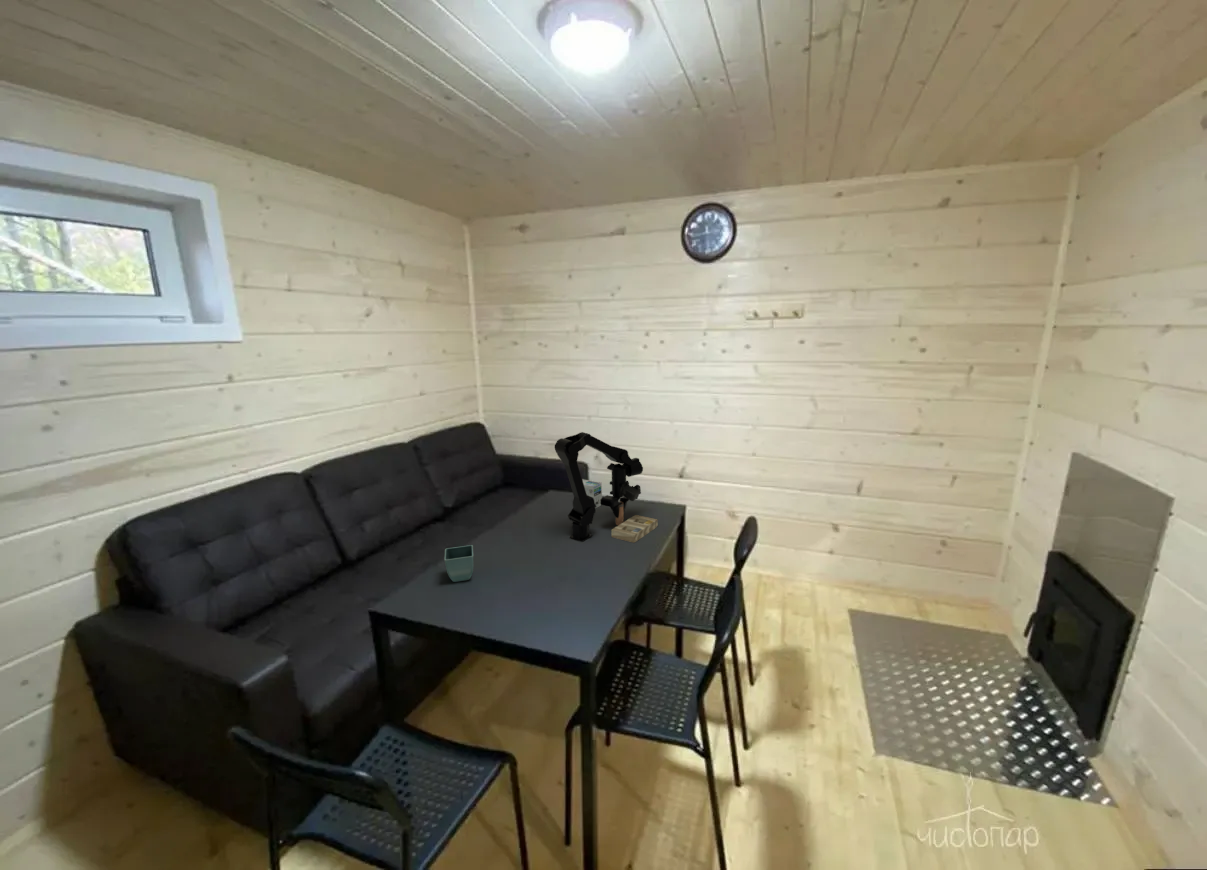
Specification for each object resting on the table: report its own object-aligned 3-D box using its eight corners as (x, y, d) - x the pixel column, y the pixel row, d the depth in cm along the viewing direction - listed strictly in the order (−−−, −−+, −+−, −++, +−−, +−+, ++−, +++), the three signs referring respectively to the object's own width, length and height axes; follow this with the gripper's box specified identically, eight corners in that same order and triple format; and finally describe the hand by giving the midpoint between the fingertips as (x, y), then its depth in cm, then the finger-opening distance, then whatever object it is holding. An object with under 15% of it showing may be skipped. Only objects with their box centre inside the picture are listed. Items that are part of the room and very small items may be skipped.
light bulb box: (602, 504, 228) (602, 481, 225) (594, 509, 222) (593, 486, 220) (583, 501, 233) (582, 478, 231) (574, 505, 228) (573, 482, 225)
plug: (621, 526, 202) (620, 504, 200) (613, 524, 204) (613, 503, 202) (625, 523, 205) (625, 502, 203) (618, 521, 207) (618, 500, 205)
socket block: (634, 542, 187) (634, 534, 187) (611, 537, 193) (611, 529, 192) (657, 526, 202) (657, 518, 201) (635, 521, 207) (635, 514, 207)
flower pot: (446, 586, 159) (444, 560, 157) (447, 573, 167) (444, 548, 165) (475, 582, 161) (473, 556, 159) (474, 569, 169) (472, 544, 167)
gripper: (623, 488, 189) (624, 528, 192) (648, 476, 204) (648, 512, 207) (599, 484, 195) (600, 522, 198) (624, 472, 210) (625, 507, 213)
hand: (619, 516), depth 204 cm, fingers closed on plug, 3 cm apart
